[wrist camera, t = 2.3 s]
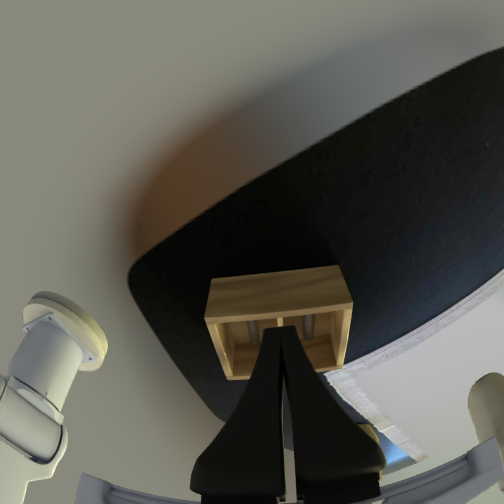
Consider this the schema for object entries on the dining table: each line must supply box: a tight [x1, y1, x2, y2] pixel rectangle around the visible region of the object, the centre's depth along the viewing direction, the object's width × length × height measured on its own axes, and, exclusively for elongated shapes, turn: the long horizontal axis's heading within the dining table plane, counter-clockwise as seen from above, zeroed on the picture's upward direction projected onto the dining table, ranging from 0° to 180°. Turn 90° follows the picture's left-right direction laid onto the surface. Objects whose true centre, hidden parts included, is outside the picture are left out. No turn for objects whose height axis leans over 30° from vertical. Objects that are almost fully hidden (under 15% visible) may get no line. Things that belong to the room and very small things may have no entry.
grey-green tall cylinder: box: [468, 372, 504, 493], centre depth 24 cm, size 10×10×28 cm
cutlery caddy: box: [204, 265, 353, 380], centre depth 22 cm, size 8×10×4 cm
